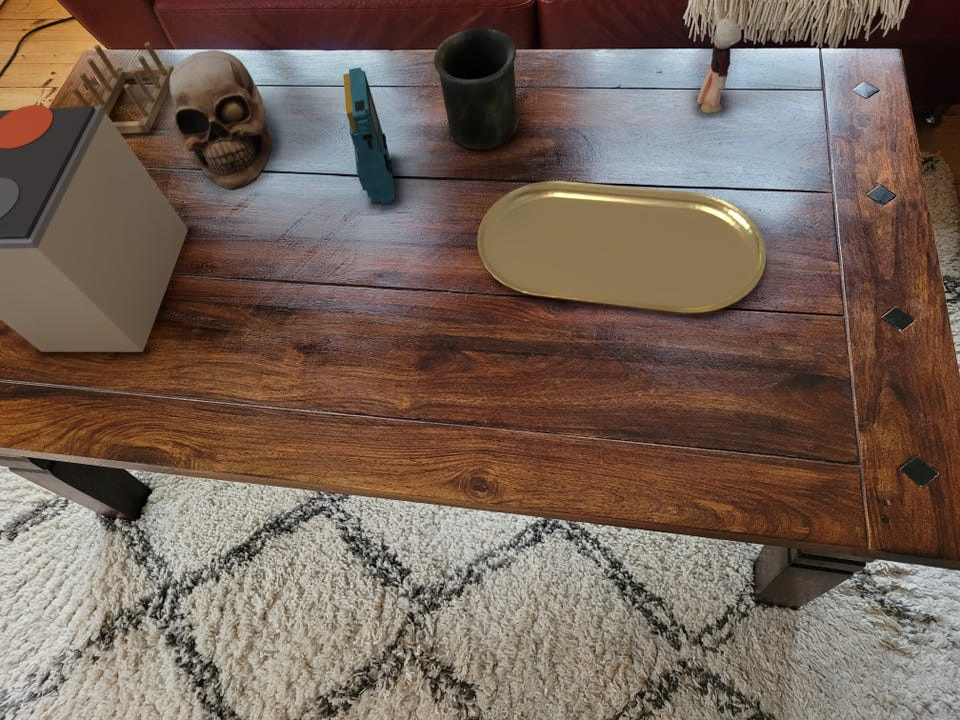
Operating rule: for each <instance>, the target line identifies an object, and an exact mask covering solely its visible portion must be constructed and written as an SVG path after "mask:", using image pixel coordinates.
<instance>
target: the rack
mask: <svg viewBox="0 0 960 720" xmlns="http://www.w3.org/2000/svg"><path fill="white" fill-rule="evenodd" d="M144 47H145V49H146V50H147V52H148V54H149V56H150V57H151V59H152V61H153V62H154V64H155V65H152V66H150V64H149V63H148V61H147V60H146V58H145V56H144V55H143V54H142V55H138V57H137V60H138V61H139V63H140V64H141V66H136V67H133V66H132V67H119V68H116V69H115V67H114V66H113V63H112V62H111V61H110V59H109V58H108V56H107V54H106V53H105V52H104V50H103V49H102V47H101V46H100V45H99V44H96V45H94V46H93V49H94V50H95V52H96V53H97V55H98V56H99V58H100V59H101V60H102V62H103V64H104V65H105V67H106V68H107V70H108V72H109V74H111V76H112V78H111V80H110V81H109V82H108V80H107V79H106V77H105V76H104V74H103V73H102V71H101V69H99V67H98V65H97V64H96V62H95V60H94V59H93V58H92V57H91V58H88V59H86V62H87V64H88V65H89V67H90V68H91V70H92V72H93V73H94V74H95V76H96V77H97V79H98V80H99V82H100V83H101V84H102V86H103V88H104V89H105V91H104V94H103V95H102V96H101V95H100V93H99V92H98V91H97V89H96V87H95V86H94V84H93V82H91V80H90V79H89V78H88V76H87V74H86V73H85V72H80V73H78V77H79V78H80V79H81V81H82V82H83V84H84V85H85V86H86V88H87V89H88V91H89V92H90V93H91V95H92V96H93V98H94V99H95V101H96V102H97V103H98V105H97V107H102V108H103V110H104V111H105V113H106V114H107V115H108V117H110V114H111V112H112V109H113V108H114V106H115V104H116V102H117V100H118V98H119V96H120V94H121V91H122V90H123V88H124V90H125V92H126V93H127V95H128V96H129V98H130V99H131V101H132V102H133V104H134V105H135V107H136V108H137V109H138V111H139V113H140V115H141V118H140V119H139V120H132V121H112V122H113V124H114V125H115V127H116V128H117V129H118V131H119V132H120V134H121V135H122V134H140V133H142V134H143V133H145V134H146V133H150V132H151V130H152V128H153V126H154V123H155V121H156V119H157V116H158V114H159V112H160V110H161V108H162V106H163V103H164V101H165V99H166V97H167V94H168V92H169V91H170V87H169V82H170V76H171V73H172V71H173V69H174V68H175V67H173V65H172V64H169V65H168V64H167V65H164V64H163V63H162V61H161V60H160V57H159V56H158V53H156V51H155V49H154V47H153V46H152V44H151V42H150V41H146V42H145V43H144ZM158 78H159V79H158ZM143 79H150V81H151V84H153V86H154V88H153V92H152V93H151V91H150V90H149V88H148V87H147V85H146V83H145V82H144V81H143ZM127 80H135V82H136V84H137V85H138V87H139V88H140V90H141V91H142V93H143V95H144V96H145V98H146V99H147V101H148V102H147V105H146V107H144V105H143V103H142V102H141V100H140V99H139V97H138V95H137V94H136V93H135V91H134V90H133V88H132V86H131V85H130V84H129V83H126V82H127ZM70 91H71V92H72V93H73V95H74V96H75V97H76V99H77V100H78V102H79V103H80V104H81V106H82V107H83V106H91V104H89V102H88V101H87V100H86V98H85V97H84V95H83V94H82V92H81V91H80V89H79V88H78V87H77V86H72V87H71V88H70Z"/></svg>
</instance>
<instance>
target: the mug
mask: <svg viewBox="0 0 960 720" xmlns="http://www.w3.org/2000/svg"><path fill="white" fill-rule="evenodd" d="M516 57H517V48H516V45H515V43H514V41H513V40H512V38H511V37H510V36H508V35H507V34H506V33H504V32H502V31H499V30H497V29H493V28H486V27H484V28H483V27H478V28H477V27H476V28H468V29H465V30H461V31H459V32H456V33H454V34H453V35H450V36H448V37H447V38H446V39H444V40H443V42H441V43H440V44H439V46H438V47H437V49H436V50H435V53H434V56H433V66H434V68H435V71H436V72H437V73H438V75H439V80H440V85H441V91H442V97H443V101H444V107H445V113H446V117H447V118H446V119H447V123H448V129H449V132H450V133H449V134H450V135H451V138H452V139H454V141H456V143H458V144H459V145H461V146H463V147H464V148H468V149H470V150H476V151H485V150H491V149H494V148H497V147H499V146H501V145H503V144H504V143H506V142H508V141H509V140H510V139H511V138H512V136H513V135H514V133H515V132H516V130H517V129H518V124H519V113H518V100H517V99H518V98H517V86H516V85H517V84H516V74H515V61H516Z"/></svg>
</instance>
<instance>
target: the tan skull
mask: <svg viewBox="0 0 960 720" xmlns="http://www.w3.org/2000/svg"><path fill="white" fill-rule="evenodd" d="M173 68H174V69H173V71H172V73H171V76H170V82H169V87H170V88H169V93H170V97H171V100H172V102H173V104H174V105H173V106H174V107H173V109H172V127H173V132H174V136H175V137H176V139H177V141H178V142H179V144H180V145H181V147H182V148H183V149H184V150H185V151H187V152H189V153H193V155H194V157H195V159H196V162H197V164H198V166H199V167H200V169H201V170H202V172H203V174H205V175H206V177H207V179H209V180H210V182H212V183H214V184H215V185H218V186H219V187H220V186H221V187H223V188H224V189H228V190H233V189H235V188H240V187H243V186H246V185H248V184H250V183H251V182H252V181H253V180H254V179H256V178H257V177H258V176H259V175H260V174H261V172H263V171H262V170H263V169H264V167H265V165H266V162H267V160H268V157H269V155H270V153H271V151H270V150H271V148H272V147H273V146H272V145H273V141H272V139H273V138H272V135H271V132H270V129H269V127H268V124H267V121H266V109H265V107H264V101H263V98H262V96H261V92H260V91H259V88H258V86H257V85H256V84H255V81H254V79H253V77H252V75H251V74H250V72H249V70H248V69H247V67H246V66H245V65H244V64H243V62H242V60H241V59H239V58H238V57H237V56H235V55H233V54H231V53H228V52H226V51H223V50H218V49H211V50H206V51H199V52H196V53H192V54H191V55H188V56H186V57H185V58H184V59H182V60H181V61H180V62H178V63H177V64H176V65H175V67H173Z"/></svg>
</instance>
